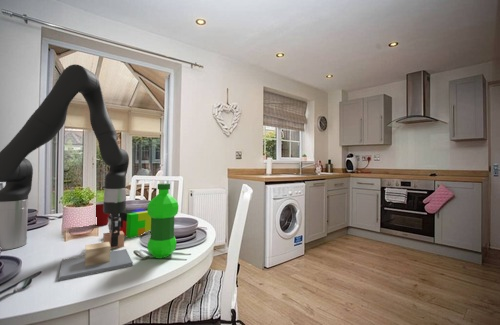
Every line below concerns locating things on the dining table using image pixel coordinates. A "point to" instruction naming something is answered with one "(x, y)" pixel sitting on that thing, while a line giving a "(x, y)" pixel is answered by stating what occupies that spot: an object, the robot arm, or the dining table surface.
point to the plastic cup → (101, 214)
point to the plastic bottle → (162, 223)
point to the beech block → (97, 253)
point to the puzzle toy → (135, 222)
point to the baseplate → (78, 268)
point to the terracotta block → (108, 239)
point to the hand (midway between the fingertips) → (113, 243)
